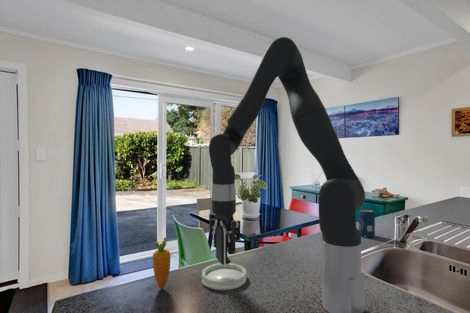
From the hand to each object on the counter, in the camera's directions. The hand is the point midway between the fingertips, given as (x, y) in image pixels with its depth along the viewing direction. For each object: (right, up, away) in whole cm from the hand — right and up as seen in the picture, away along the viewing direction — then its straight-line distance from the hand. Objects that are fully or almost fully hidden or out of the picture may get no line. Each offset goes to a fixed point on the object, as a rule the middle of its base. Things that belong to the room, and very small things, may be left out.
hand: (224, 250), depth 89 cm
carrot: (-18, -10, -6) cm, 21 cm away
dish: (0, -9, 0) cm, 9 cm away
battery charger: (0, -4, 0) cm, 4 cm away
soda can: (+65, -8, +43) cm, 79 cm away
